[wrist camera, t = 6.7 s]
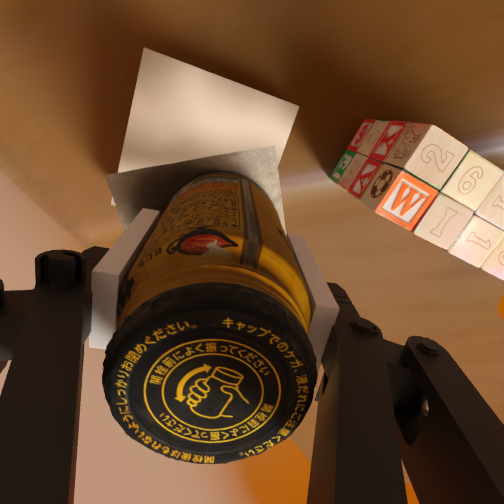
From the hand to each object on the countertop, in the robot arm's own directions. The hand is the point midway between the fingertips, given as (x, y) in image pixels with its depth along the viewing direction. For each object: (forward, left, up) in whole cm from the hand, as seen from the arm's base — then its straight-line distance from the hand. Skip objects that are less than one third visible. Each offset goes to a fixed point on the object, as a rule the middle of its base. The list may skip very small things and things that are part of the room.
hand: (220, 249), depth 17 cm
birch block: (-2, -2, -19) cm, 19 cm away
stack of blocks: (-2, +21, -19) cm, 28 cm away
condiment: (0, -1, -3) cm, 3 cm away
